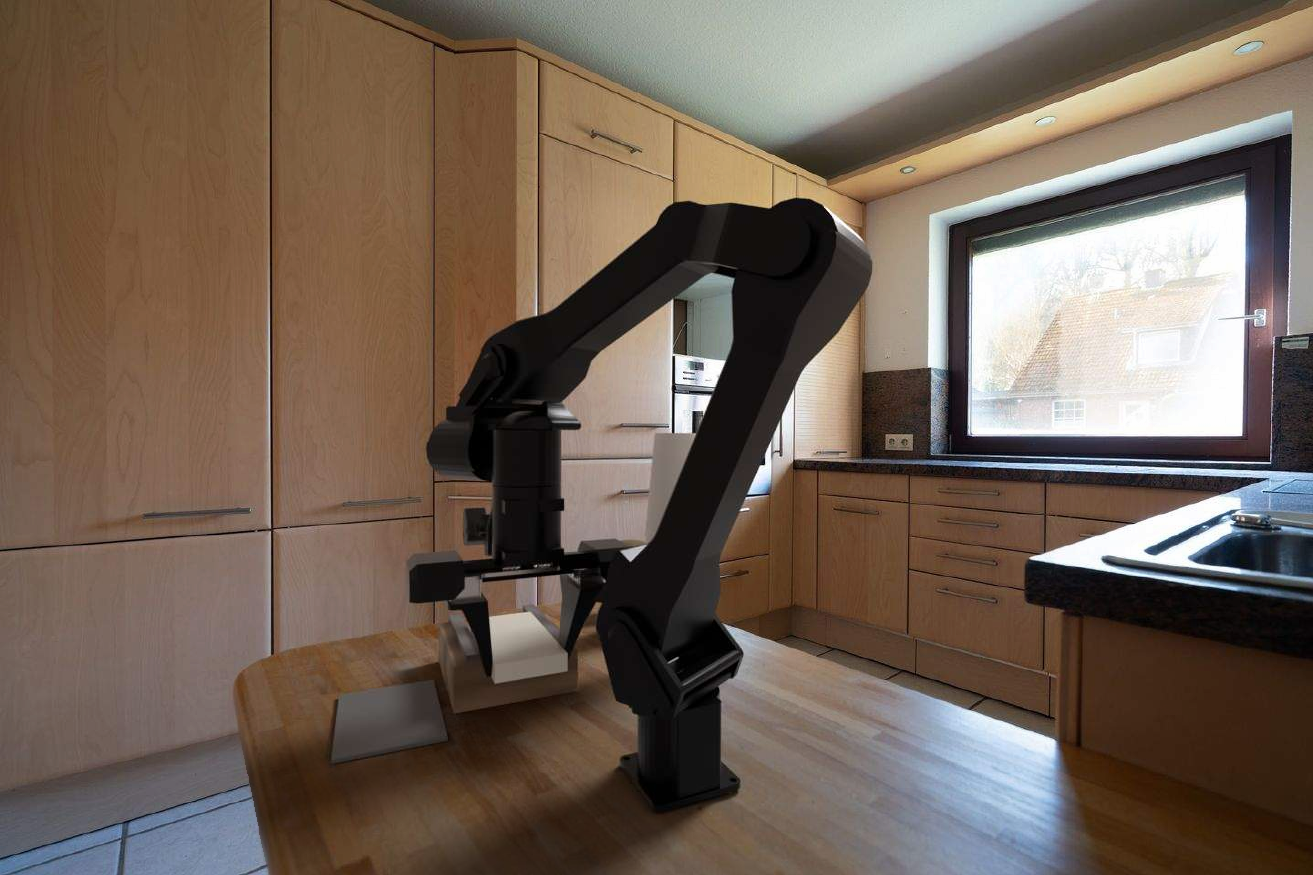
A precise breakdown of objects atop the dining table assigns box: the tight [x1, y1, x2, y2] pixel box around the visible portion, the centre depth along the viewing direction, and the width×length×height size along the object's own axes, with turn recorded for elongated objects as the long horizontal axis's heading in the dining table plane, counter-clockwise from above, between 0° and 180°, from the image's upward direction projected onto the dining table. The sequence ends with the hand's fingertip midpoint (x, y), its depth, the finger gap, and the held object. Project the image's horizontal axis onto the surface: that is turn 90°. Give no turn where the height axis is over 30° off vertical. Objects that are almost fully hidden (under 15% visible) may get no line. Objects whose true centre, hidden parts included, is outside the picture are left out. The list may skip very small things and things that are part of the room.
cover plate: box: [470, 612, 568, 684], centre depth 55 cm, size 13×6×2 cm, turn 25°
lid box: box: [438, 603, 579, 714], centre depth 60 cm, size 13×11×5 cm
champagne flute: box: [644, 432, 696, 663], centre depth 65 cm, size 7×7×24 cm
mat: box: [330, 679, 449, 765], centre depth 51 cm, size 12×8×1 cm, turn 25°
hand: (526, 668), depth 51 cm, fingers closed on cover plate, 6 cm apart
